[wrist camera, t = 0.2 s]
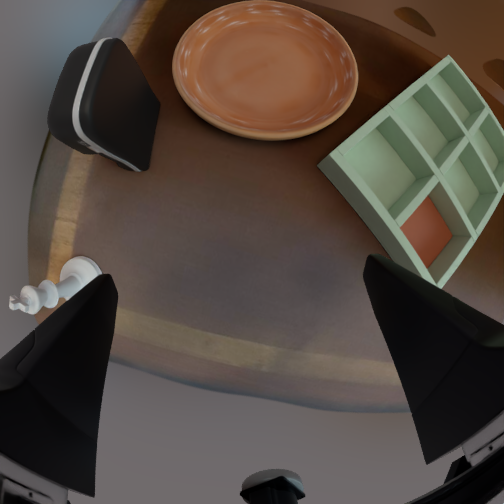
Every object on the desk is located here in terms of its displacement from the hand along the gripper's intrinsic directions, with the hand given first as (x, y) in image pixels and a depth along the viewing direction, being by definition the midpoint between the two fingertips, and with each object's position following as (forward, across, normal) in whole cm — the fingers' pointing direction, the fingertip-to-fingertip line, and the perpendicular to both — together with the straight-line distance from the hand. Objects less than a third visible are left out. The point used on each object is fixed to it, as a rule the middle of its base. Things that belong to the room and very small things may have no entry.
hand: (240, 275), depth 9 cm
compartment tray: (+15, -20, 0) cm, 25 cm away
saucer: (+20, -4, -7) cm, 22 cm away
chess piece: (+11, +14, +9) cm, 20 cm away
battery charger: (+18, +8, -2) cm, 20 cm away
